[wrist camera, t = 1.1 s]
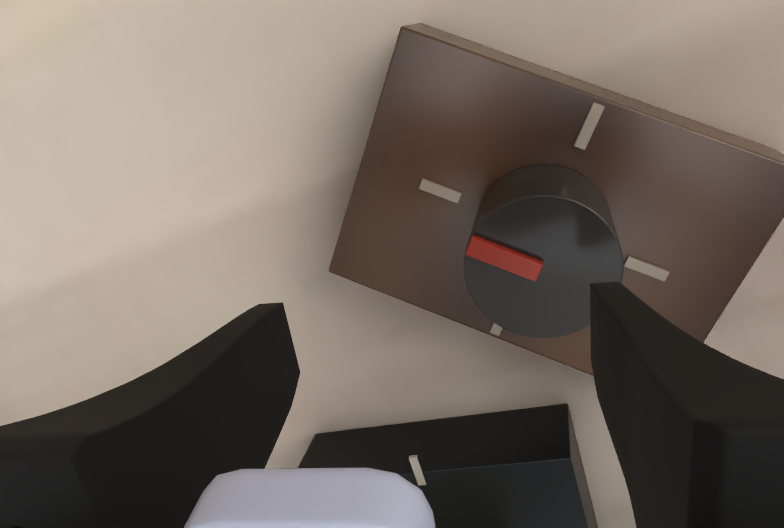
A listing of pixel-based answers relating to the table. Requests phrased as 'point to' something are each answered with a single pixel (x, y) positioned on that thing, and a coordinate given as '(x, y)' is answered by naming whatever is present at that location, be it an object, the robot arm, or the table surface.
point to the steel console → (477, 466)
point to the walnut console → (557, 147)
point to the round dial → (541, 251)
